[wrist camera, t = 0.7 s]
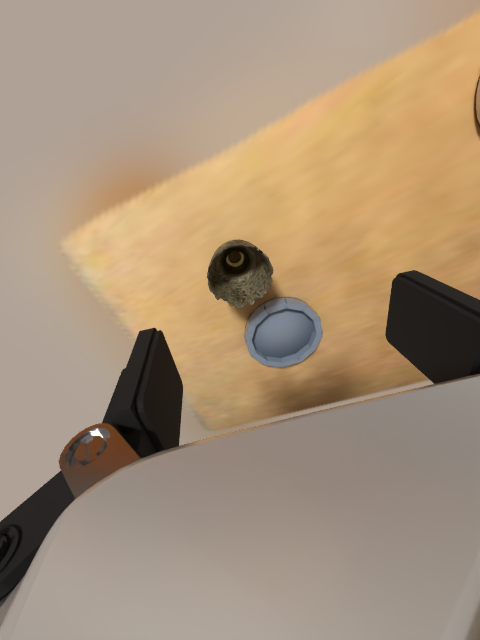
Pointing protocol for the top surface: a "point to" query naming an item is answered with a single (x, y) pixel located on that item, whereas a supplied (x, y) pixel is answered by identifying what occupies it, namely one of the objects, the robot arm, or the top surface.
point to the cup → (239, 274)
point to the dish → (282, 332)
